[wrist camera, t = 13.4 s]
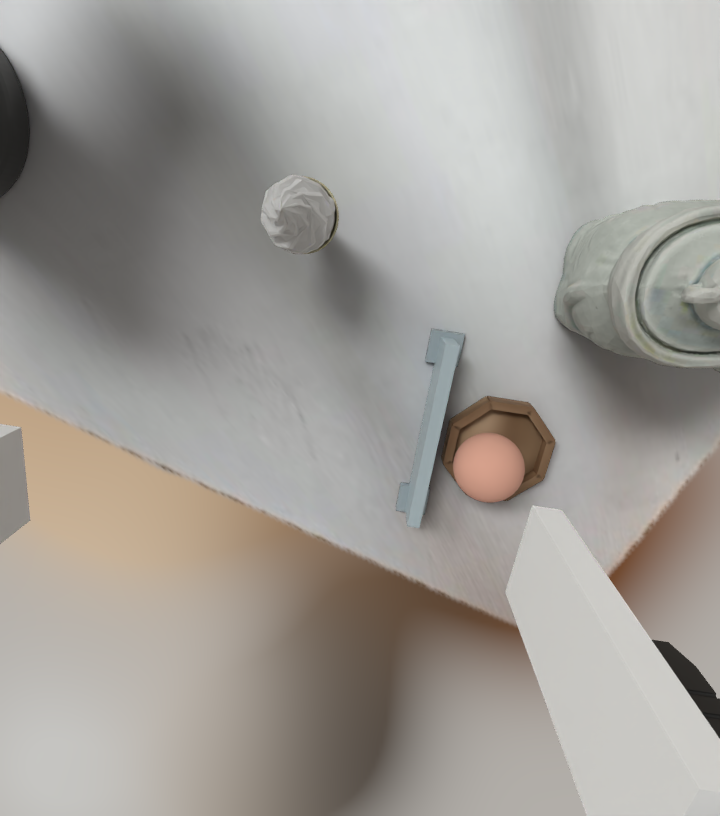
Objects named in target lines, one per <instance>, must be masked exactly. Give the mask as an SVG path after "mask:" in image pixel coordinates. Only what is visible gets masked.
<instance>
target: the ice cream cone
mask: <svg viewBox="0 0 720 816" xmlns="http://www.w3.org/2000/svg"><path fill="white" fill-rule="evenodd" d="M338 221H339V213H338V207H337V204H336V201H335V199H334V197H333V195H332V193H331V192H330V191H329V189H328V188H327V187H326V186H325V185H324V184H322V183H321V182H319V181H318V180H315V179H313V178H310V177H304V176H298V175H289V176H288V177H286V178H284V179H283V180H281V181H279V182H277V183H275V184H274V185H272V186H271V187H270V188H269V189H268V190H266V192H265V196H264V201H263V205H262V213H261V223H262V224H263V226H264V228H265V229H266V231H267V233H268V235H269V237H270V238H271V240H272V241H273V243H274V244H275V246H277V247H281V248H282V249H285V250H287V251H289V252H291V253H293V254H309V253H314V252H317V251H319V250H321V249H322V248H324V247H325V246H326V245H327V244H328V243H329V242H330V241H331V240H332V238H333V236H334V235H335V232H336V230H337V226H338Z"/></svg>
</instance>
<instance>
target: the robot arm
mask: <svg viewBox="0 0 720 816" xmlns="http://www.w3.org/2000/svg"><path fill="white" fill-rule="evenodd" d="M28 144H29V120H28V112H27V107H26V103H25V99H24V95H23V92H22V89H21V86H20V84H19V81H18V79H17V77H16V74H15V72H14V70H13V68H12V67H11V65H10V63H9V61H8V60H7V58H6V56H5V55H4V53H3V52H2V51H1V49H0V197H1V196H2V195H3V194H4V193H6V192H7V191H8V190H9V189H10V188H11V186H12V185H13V184H14V182H15V181H16V179H17V178H18V176H19V174H20V172H21V170H22V168H23V165H24V163H25V160H26V156H27V151H28ZM29 521H30V514H29V503H28V493H27V483H26V472H25V462H24V453H23V441H22V431H21V427H16V426H9V425H3V424H0V544H1V543H2V542H3V541H4V540H6V539H7V538H8V537H10V536H11V535H12V534H13V533H15V532H16V531H17V530H19V529H20V528H21V527H22V526H24V525H25V524H26V523H27V522H29ZM506 595H507V598H508V601H509V603H510V606H511V609H512V612H513V614H514V617H515V620H516V623H517V626H518V628H519V631H520V634H521V637H522V639H523V642H524V645H525V648H526V650H527V653H528V656H529V658H530V661H531V664H532V667H533V670H534V672H535V675H536V678H537V681H538V683H539V686H540V689H541V692H542V694H543V697H544V700H545V702H546V705H547V708H548V711H549V714H550V716H551V719H552V722H553V725H554V727H555V730H556V733H557V736H558V738H559V741H560V744H561V746H562V749H563V752H564V755H565V758H566V760H567V763H568V766H569V769H570V771H571V774H572V777H573V779H574V782H575V785H576V788H577V790H578V793H579V796H580V799H581V802H582V804H583V807H584V810H585V813H586V815H587V816H720V699H717V698H716V693H715V692H714V690H713V689H712V687H711V686H710V685H709V684H708V682H707V681H706V679H705V678H704V677H703V675H702V674H701V673H700V672H699V670H698V669H697V668H696V666H694V664H692V663H691V662H690V661H689V660H688V659H687V658H685V657H684V656H683V655H682V654H681V653H680V652H679V651H678V650H676V649H675V648H674V647H673V646H672V645H671V644H670V643H669V642H663V641H656V640H651V639H650V637H649V636H648V634H647V633H646V631H645V630H644V628H643V627H642V626H641V624H640V623H639V621H638V620H637V618H636V617H635V615H634V614H633V612H632V611H631V610H630V608H629V607H628V605H627V604H626V602H625V601H624V600H623V598H622V597H621V595H620V594H619V592H618V591H617V589H616V588H615V586H614V585H613V583H612V582H611V581H610V579H609V578H608V576H607V575H606V573H605V572H604V570H603V569H602V568H601V566H600V565H599V563H598V562H597V560H596V559H595V557H594V556H593V555H592V553H591V552H590V550H589V549H588V547H587V546H586V544H585V543H584V541H583V540H582V539H581V537H580V536H579V534H578V533H577V531H576V530H575V528H574V527H573V526H572V524H571V523H570V521H569V520H568V518H567V517H566V515H565V514H564V512H563V511H562V510H559V509H553V508H546V507H540V506H533V505H532V508H531V511H530V514H529V518H528V521H527V524H526V527H525V530H524V534H523V537H522V540H521V543H520V546H519V550H518V553H517V556H516V559H515V563H514V566H513V569H512V572H511V575H510V579H509V582H508V585H507V588H506Z"/></svg>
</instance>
